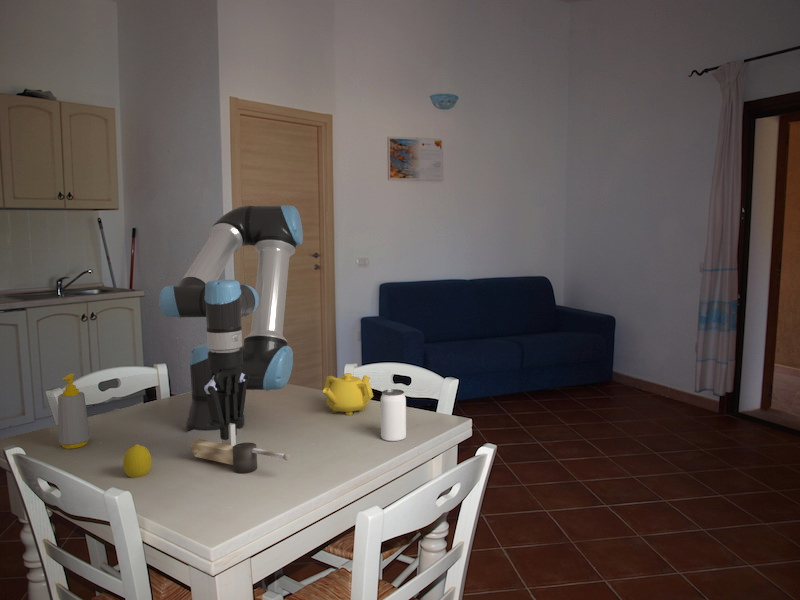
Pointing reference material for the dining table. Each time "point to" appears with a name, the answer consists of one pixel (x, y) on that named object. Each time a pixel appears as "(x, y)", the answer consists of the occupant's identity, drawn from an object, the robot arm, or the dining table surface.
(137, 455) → the lemon
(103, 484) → the dining table surface
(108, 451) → the dining table surface
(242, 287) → the robot arm
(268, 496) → the dining table surface
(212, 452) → the tan long two-tone device
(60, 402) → the soap bottle
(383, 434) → the can
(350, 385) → the teapot
